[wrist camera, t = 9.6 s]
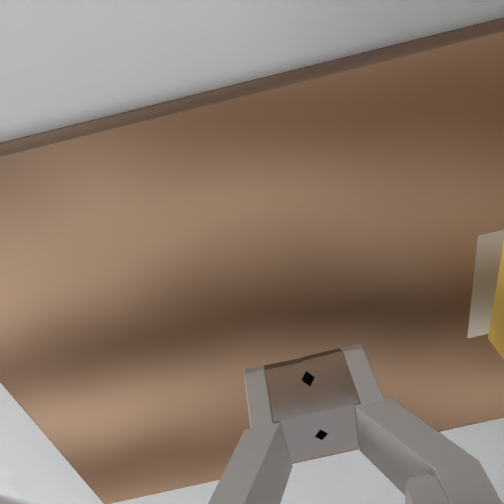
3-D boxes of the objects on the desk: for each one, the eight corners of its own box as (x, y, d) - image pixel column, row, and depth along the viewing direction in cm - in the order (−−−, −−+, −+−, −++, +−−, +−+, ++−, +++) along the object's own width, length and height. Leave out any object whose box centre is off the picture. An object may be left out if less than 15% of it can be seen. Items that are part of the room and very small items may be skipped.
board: (-131, 176, 10) (-159, 196, 9) (1139, -141, 9) (1231, -150, 8) (109, 479, 18) (104, 504, 17) (801, 326, 17) (831, 346, 16)
